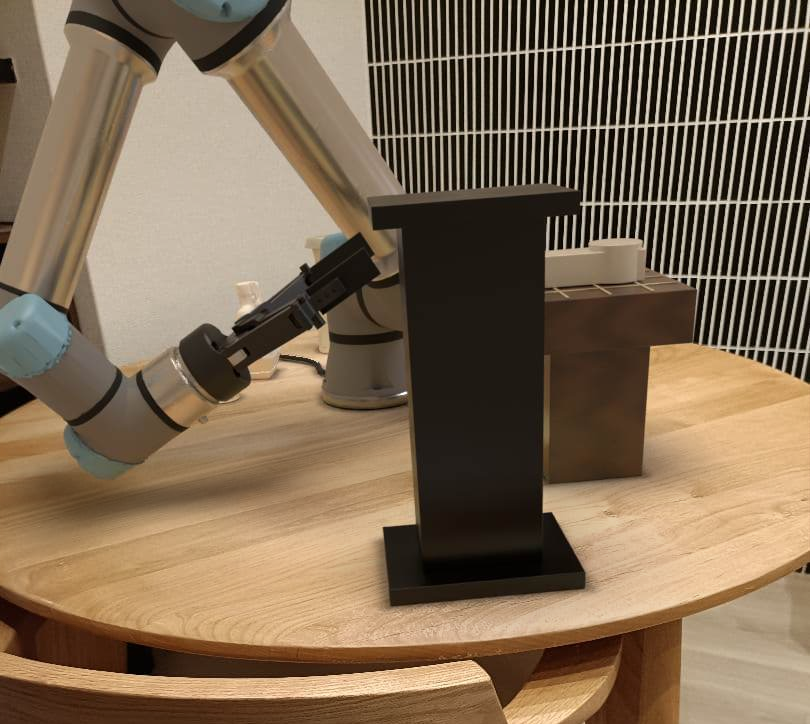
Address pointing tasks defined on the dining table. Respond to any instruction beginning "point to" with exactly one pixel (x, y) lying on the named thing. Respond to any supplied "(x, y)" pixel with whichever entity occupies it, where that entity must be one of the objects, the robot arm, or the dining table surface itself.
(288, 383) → the dining table surface
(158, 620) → the dining table surface
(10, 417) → the dining table surface
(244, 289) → the figurine
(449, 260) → the stand
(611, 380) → the goban
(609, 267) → the white long bar
